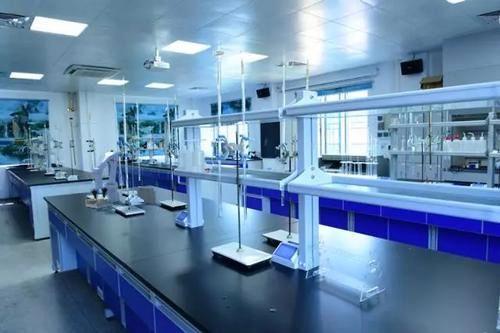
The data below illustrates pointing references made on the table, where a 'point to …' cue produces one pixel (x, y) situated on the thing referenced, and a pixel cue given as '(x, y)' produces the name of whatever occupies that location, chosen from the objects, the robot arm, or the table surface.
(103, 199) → the brass block
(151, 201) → the geiger counter
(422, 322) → the table surface
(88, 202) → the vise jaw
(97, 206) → the vise bed
